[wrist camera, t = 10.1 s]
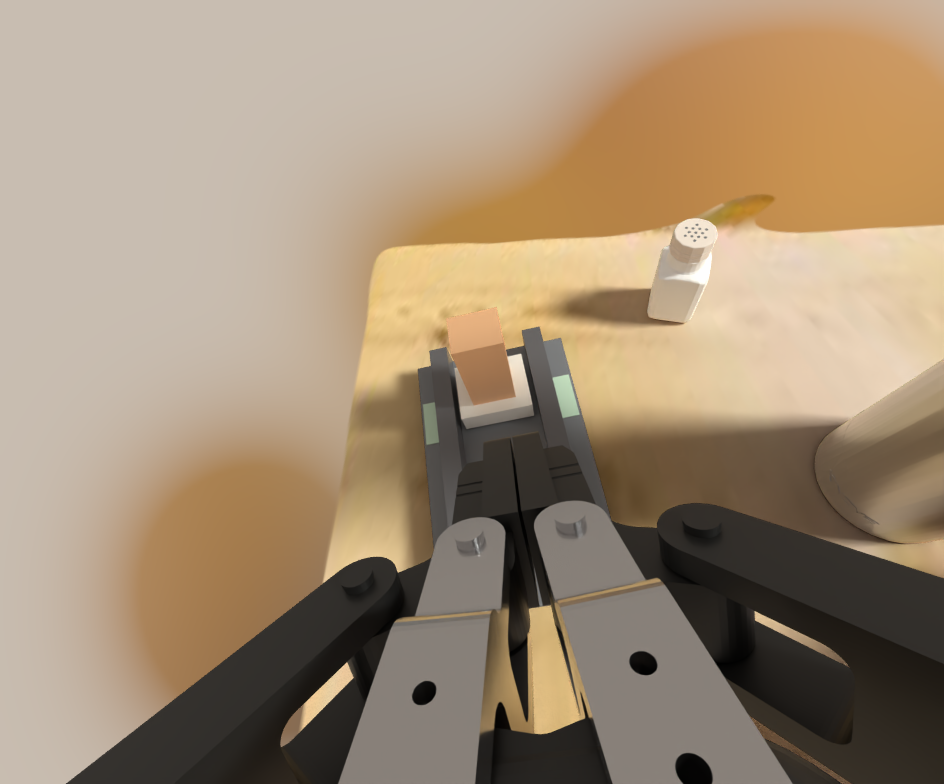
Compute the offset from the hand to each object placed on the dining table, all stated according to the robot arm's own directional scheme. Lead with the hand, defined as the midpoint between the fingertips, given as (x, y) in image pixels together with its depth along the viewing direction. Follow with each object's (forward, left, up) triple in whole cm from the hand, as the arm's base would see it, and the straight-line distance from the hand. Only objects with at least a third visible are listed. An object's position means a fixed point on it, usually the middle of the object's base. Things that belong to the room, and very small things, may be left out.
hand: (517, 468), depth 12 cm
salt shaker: (-21, -16, -26) cm, 37 cm away
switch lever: (-2, -14, -24) cm, 27 cm away
